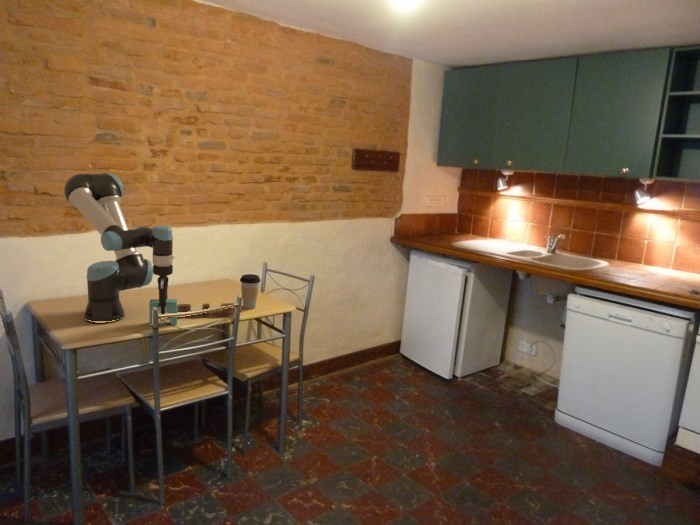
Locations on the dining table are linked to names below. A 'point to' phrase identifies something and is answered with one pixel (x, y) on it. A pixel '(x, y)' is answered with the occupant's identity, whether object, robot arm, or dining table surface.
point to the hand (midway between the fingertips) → (163, 318)
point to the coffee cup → (249, 290)
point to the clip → (171, 308)
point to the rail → (222, 313)
